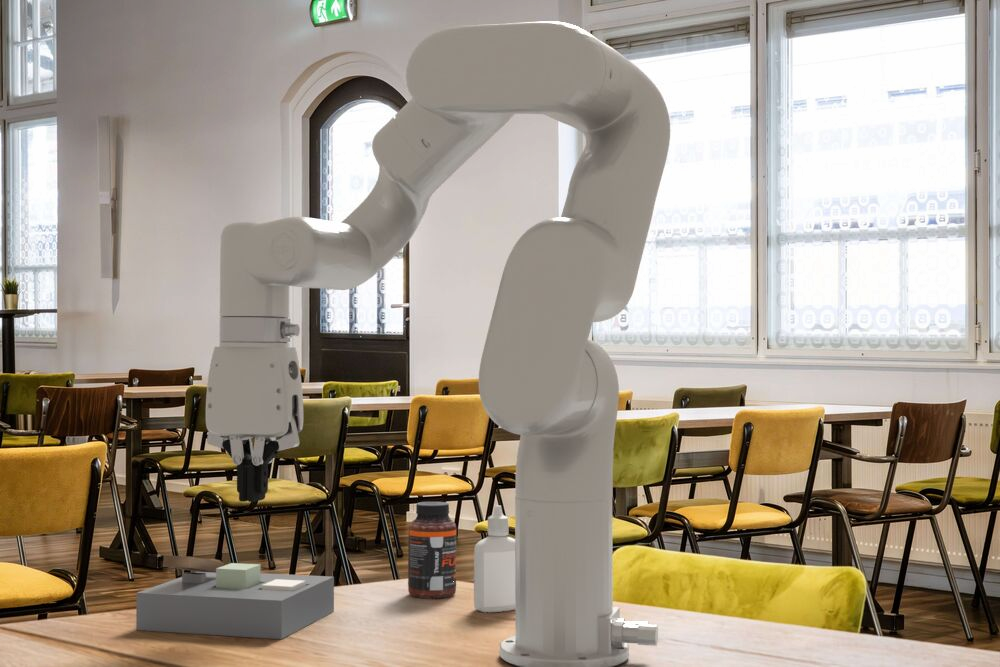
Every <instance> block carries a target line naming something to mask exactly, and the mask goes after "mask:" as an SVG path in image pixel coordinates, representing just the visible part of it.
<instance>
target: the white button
mask: <svg viewBox="0 0 1000 667" xmlns="http://www.w3.org/2000/svg"><path fill="white" fill-rule="evenodd" d="M305 586H306V581H302V580H282V579H275V580H273V581H271V582H268V583H266V584H263V585H262V590H274V591H293V592H294V591H296V590H299V589H301V588H303V587H305Z"/></svg>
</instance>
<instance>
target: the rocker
mask: <svg viewBox="0 0 1000 667" xmlns="http://www.w3.org/2000/svg"><path fill="white" fill-rule="evenodd" d="M224 563H225V562H223V561H221V560H220V559H215V558H203V557H202V558H201V557H196V556H185V555H184V556H183V555H168V554H167V555H163V561H162V567H163V568H164V567H165V568H169V569H170V568H172V569H177V570H184V571H189V572H212V573H216V568H219V567H222V566H225V564H224Z"/></svg>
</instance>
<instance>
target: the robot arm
mask: <svg viewBox="0 0 1000 667" xmlns="http://www.w3.org/2000/svg"><path fill="white" fill-rule="evenodd" d="M405 68H406V69H405V71H406V72H405V81H406V87H407V90H408V92H409V95H410V96H411V99H409V101H408V102H406V104H404V106H403V107H401V109H400V110H399V111H398V112H397V113H396V114H394V116H393V117H392V118H390V120H389V121H388V122H386V124H385V125H384V126H382V127H381V128H380V129H379V130H378V131H377V132H376V134H375V135H374V137H373V139H372V144H371V148H372V153H373V156H374V158H375V161H376V162H377V164H378V167H379V169H378V170H379V171H378V172H379V173H378V176H377V180H376V181H375V182H376V183H375V184H374V187H373V188H372V190H371V191H370V193H368V195H367V197H366V198H365V199H363V201H362V202H361V203H360V204H359V205H358V206H357V207H356V208H355V209H354V210H353V211H352V212H351V213H350V214H348V216H346V218H345V219H343V220H342V221H341V222H339V221H333V220H328V219H322V218H314V217H308V216H307V217H306V216H290V217H284V218H280V219H276V220H272V221H268V222H264V221H237V222H231V223H229V224H226V226H225V227H223V229H222V231H221V234H220V258H219V259H220V260H219V261H220V263H219V264H220V266H219V268H220V270H219V275H220V276H219V339H218V340H219V346H214V347H213V348H214V349H213V351H212V357H211V360H210V364H209V371H208V376H207V377H208V378H207V384H206V385H207V386H206V397H205V426H206V430H207V431H208V433H207V438H206V442H207V444H208V445H210V446H213V447H216V448H220V449H223V450H225V452H226V453H227V454H228V455H229V457H230V458H231V460H232V462H233V464H235V465H236V491H237V493H238V501H239V502H242V503H245V502H250V503H255V502H258V501H262V500H265V499H266V494H267V493H268V490H269V464H271V463H272V462H273V460H274V458H275V457H276V456H277V455H278V454H279V453H280V452H281V451H284V450H287V449H291V448H292V449H293V448H296V447H299V445H300V442H301V441H300V437H299V433H300V432H302V430H303V427H304V398H303V397H304V396H303V384H302V383H303V382H302V376H301V375H302V374H301V367H300V364H299V357H298V353H297V352H298V351H297V347H289V342H291V338H292V337H298V336H299V335H300V330H301V328H300V325H299V324H298V323H296V324H295V323H292V322H291V318H289V317H290V315H289V314H290V311H289V310H290V309H289V308H290V287H294V288H295V287H297V288H307V289H321V290H322V289H325V290H334V291H339V290H340V291H346V290H352V289H354V288H358V287H359V286H361V285H363V284H365V283H366V282H367V281H369V280H370V279H371V278H372V277H374V276H375V275H376V274H377V273H379V271H381V270H383V268H384V267H385V266H387V265H388V263H390V262H391V260H392V259H393V258H395V257H396V255H397V254H399V253H400V252H401V251H402V250H403V249H404V248H405V247H406V245H407V244H408V243H409V242H410V240H411V239H412V237H413V236H414V234H415V233H416V231H417V229H418V227H419V225H420V224H421V221H422V219H423V217H424V215H425V213H426V211H427V207H428V204H429V202H430V200H431V198H432V196H433V194H435V192H436V191H437V190H438V189H439V188H440V187H441V186H442V185H443V184H444V183H445V182H446V181H447V180H448V179H449V178H451V177H452V176H453V175H454V173H455V172H457V171H458V170H459V169H460V168H461V167H462V166H463V165H464V164H466V162H467V161H469V159H470V158H472V156H474V155H475V153H476V152H478V150H479V149H481V148H482V147H483V146H484V145H485V144H486V143H487V142H488V141H489V140H490V139H492V137H493V136H495V134H497V133H498V131H500V130H501V129H502V128H503V127H504V126H505V125H506V124H507V123H508V122H509V121H510V120H511V119H512V118H513V117H514V115H516V114H517V115H519V114H520V115H522V114H524V115H525V114H526V115H528V114H529V115H530V114H531V115H532V114H533V115H544V116H547V117H549V118H551V119H553V120H555V121H557V122H559V123H561V124H564V125H566V126H569V127H572V128H574V129H576V130H578V131H579V132H580V133H582V134H583V135H584V137H585V146H584V149H583V151H582V153H581V154H580V156H579V158H578V159H577V162H576V164H575V166H574V169H573V172H572V173H571V177H570V181H569V184H568V189H567V194H566V198H565V202H564V206H563V208H562V211H561V216H559V217H552V218H547V219H545V220H541V221H539V222H537V223H535V224H534V225H532V226H531V227H529V228H528V229H526V231H525V232H524V233H523V234H522V235H521V236H520V237H519V239H517V241H516V242H515V243H514V246H513V247H512V248H511V252H509V254H508V257H507V260H506V262H505V265H504V268H503V271H502V275H501V279H500V282H499V287H498V291H497V294H496V298H495V302H494V307H493V310H492V313H491V318H490V321H489V327H488V331H487V334H486V338H485V343H484V346H483V351H482V354H481V358H480V364H479V370H478V392H479V393H478V394H479V397H480V401H481V404H482V406H483V409H484V410H485V412H486V414H487V415H488V417H489V418H490V419H491V421H493V422H494V423H495V425H497V426H498V427H499V428H501V429H503V430H505V431H506V432H509V433H512V434H515V435H520V438H519V441H518V442H519V443H518V448H517V449H518V450H517V455H516V463H515V496H514V500H515V501H514V506H515V507H514V508H515V510H514V514H515V515H514V518H515V519H514V520H515V521H514V522H515V523H514V524H515V525H514V526H515V527H514V528H515V529H514V531H515V533H514V534H515V535H514V536H515V537H514V539H515V610H514V611H515V616H514V617H515V635H512V636H510V637H507V638H505V639H504V640H502V642H501V643H499V656H500V658H501V659H502V660H504V662H506V663H508V664H510V665H513V666H515V667H616V666H618V665H620V664H623V663H625V662H626V661H627V660H628V659H629V656H630V652H629V651H630V650H629V649H630V647H629V644H636V645H638V646H654V647H657V646H658V641H659V627H658V626H659V625H657V624H650V623H649V621H638V620H636V621H626V620H625V618H624V617H622V618H621V617H620V615H621V613H620V612H621V610H620V609H621V608H620V606H614V605H613V602H614V600H613V598H614V596H613V593H614V592H613V590H614V589H613V586H614V584H613V577H614V576H613V574H614V573H613V568H614V567H613V565H614V563H613V560H614V559H613V494H614V493H613V491H614V490H613V488H614V487H613V483H614V481H613V480H614V478H613V477H614V476H613V475H614V474H613V473H614V472H613V470H614V468H613V467H614V445H615V444H614V443H615V433H616V427H617V419H618V418H617V417H618V410H619V409H618V408H619V399H620V397H619V396H620V395H619V393H620V392H619V390H620V388H619V387H620V386H619V377H618V374H617V370H616V367H615V365H614V362H613V360H612V359H611V357H610V356H609V354H608V353H607V351H606V350H605V349H604V348H603V347H602V346H601V345H600V344H598V343H597V342H596V341H594V340H593V339H590V338H589V336H590V333H591V330H592V325H593V323H601V322H603V321H604V322H605V321H607V320H611V319H613V318H614V317H616V316H618V315H619V314H621V312H622V311H623V310H624V309H625V308H626V307H627V306H628V304H629V301H631V298H632V297H633V293H634V290H635V286H636V282H637V278H638V274H639V270H640V265H641V262H642V258H643V253H644V250H645V245H646V241H647V239H648V234H649V230H650V226H651V222H652V219H653V213H654V209H655V205H656V200H657V196H658V193H659V188H660V186H661V185H660V184H661V180H662V177H663V173H664V171H665V166H666V162H667V159H668V158H667V157H668V154H669V153H668V152H669V148H670V141H671V121H670V116H669V110H668V107H667V105H666V101H665V99H664V97H663V94H662V93H661V92H660V90H659V89H658V87H657V86H656V84H655V83H654V82H653V81H652V79H650V78H649V76H648V75H647V74H646V73H645V72H644V71H643V70H642V69H640V68H639V67H638V66H637V65H636V64H634V63H633V62H632V61H631V60H629V59H628V58H627V57H625V56H624V55H623V54H621V53H620V52H619V51H617V50H616V49H614V48H613V47H611V46H610V45H609V44H607V43H604V41H601V40H600V39H598V38H597V37H595V36H594V35H593V34H591V33H590V32H589V31H587V30H585V29H582V28H580V27H579V26H576V25H573V24H571V23H566V22H562V21H548V20H547V21H528V22H527V21H525V22H512V23H511V22H509V23H498V24H497V23H496V24H495V23H494V24H493V23H492V24H491V23H489V24H476V25H475V24H474V25H473V24H472V25H471V24H470V25H458V26H451V27H447V28H443V29H439V30H437V31H435V32H433V33H431V34H429V35H428V36H426V37H424V38H423V39H422V41H420V42H419V43H417V45H416V47H415V48H414V50H413V51H412V52H411V55H410V57H409V59H408V62H407V65H406V67H405ZM278 437H281V438H279V439H277V438H278ZM252 438H254V442H252ZM253 443H254V444H253Z"/></svg>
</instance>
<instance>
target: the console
mask: <svg viewBox="0 0 1000 667" xmlns="http://www.w3.org/2000/svg"><path fill="white" fill-rule="evenodd" d="M275 579H282V580H302V581H306V586H305V587H303V588H301V589H299V590H296V591H294V592H293V591H274V590H262V585H263V584H266V583H268V582H271V581H273V580H275ZM135 598H136V604H135V605H136V609H135V610H136V611H135V612H136V613H135V615H136V617H135V618H136V621H135V622H136V624H135V627H136V631H144V632H145V631H146V632H158V633H159V632H160V633H162V632H163V633H176V634H177V633H179V634H192V635H193V634H195V635H212V636H223V637H224V636H226V637H239V638H240V637H241V638H256V639H257V638H258V639H270V640H271V639H272V640H273V639H274V640H283V639H284V638H287V637H289V636H291V635H292V634H294V633H296V632H298V631H300V630H302V629H304V628H305V627H308V626H310V625H311V624H313V623H316V622H318V621H319V620H320V619H323V618H324V617H327V616H328V615H330V614H332V613H334V612H335V577H334V576H326V575H325V576H324V575H309V574H308V575H306V574H285V573H265V572H263V573H262V572H261V584H259V585H256V586H254V587H251V588H249V589H236V588H216V573H212V572H196V571H189V572H188V571H185V572H182V574H181V576H180V577H177V578H175V579H171V580H169V581H166V582H164V583H161V584H158V585H155V586H153V587H152V586H151V587H150V588H146V589H142V590H140V591H137V592H136V597H135Z"/></svg>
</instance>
